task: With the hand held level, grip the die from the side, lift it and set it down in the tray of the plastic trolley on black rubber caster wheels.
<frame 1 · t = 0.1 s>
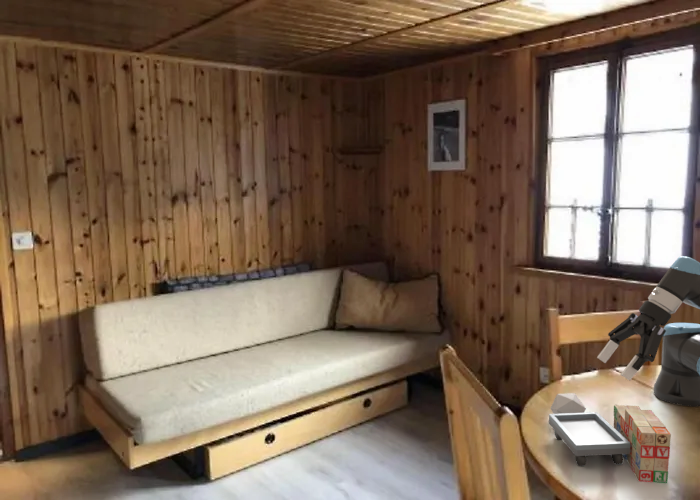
hand: (612, 368, 155), 15 cm above the table, tool tilted 35°, fingers open, 13 cm apart
trolley: (586, 450, 141), on the table
die: (567, 421, 157), on the table
stack of blocks: (638, 459, 137), on the table
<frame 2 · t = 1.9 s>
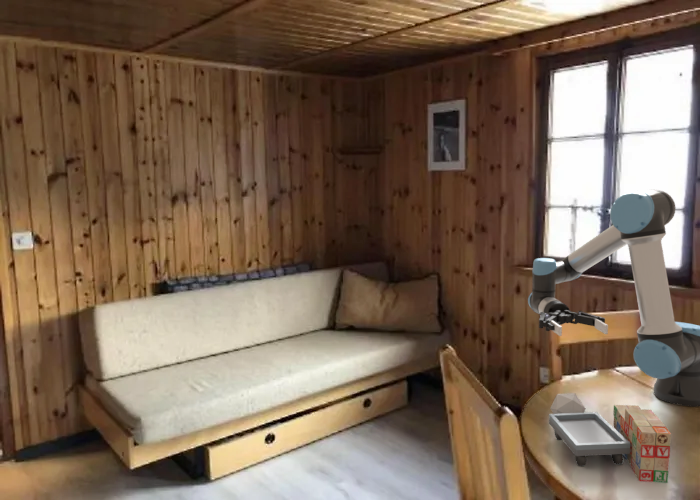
hand: (583, 330, 161), 24 cm above the table, tool horizontal, fingers open, 13 cm apart
nothing on the table moved.
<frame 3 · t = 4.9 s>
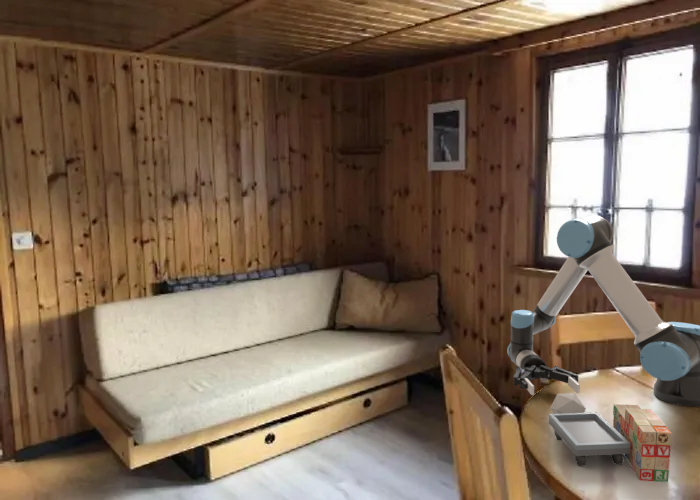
hand: (555, 389, 164), 6 cm above the table, tool horizontal, fingers open, 13 cm apart
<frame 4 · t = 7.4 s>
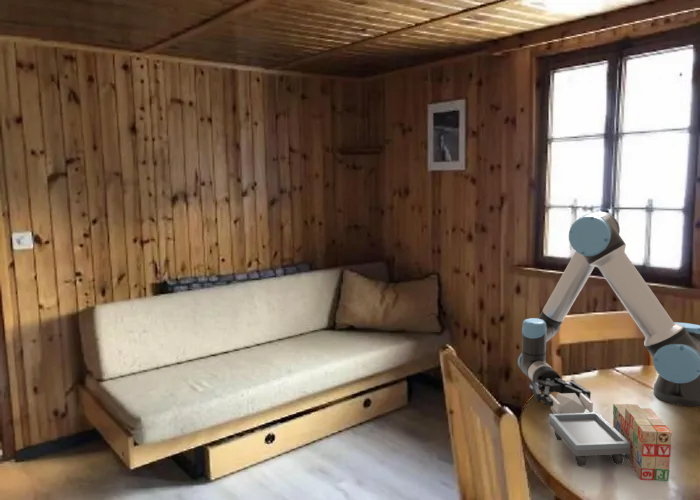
hand: (575, 408, 152), 6 cm above the table, tool horizontal, fingers closed on die, 8 cm apart
die: (567, 421, 157), on the table, touching gripper
everything else where it was.
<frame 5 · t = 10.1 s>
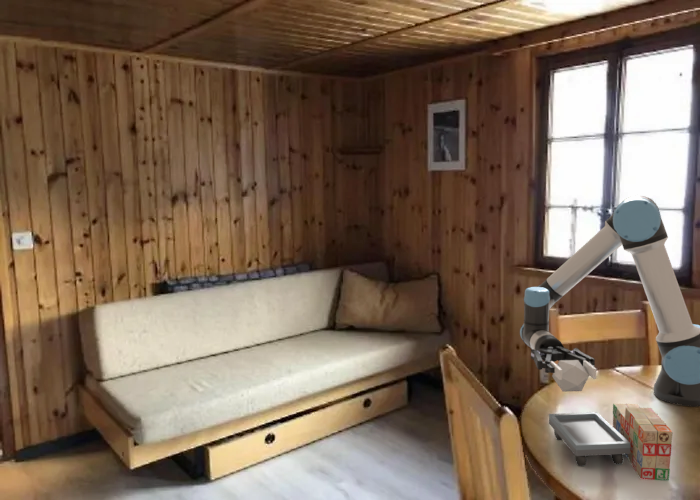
hand: (577, 374, 144), 18 cm above the table, tool horizontal, fingers closed on die, 8 cm apart
die: (569, 389, 150), point 12 cm above the table, touching gripper
when the fingers open (12 cm above the table, at t = 12.8 s): die drops 1 cm, resting on trolley.
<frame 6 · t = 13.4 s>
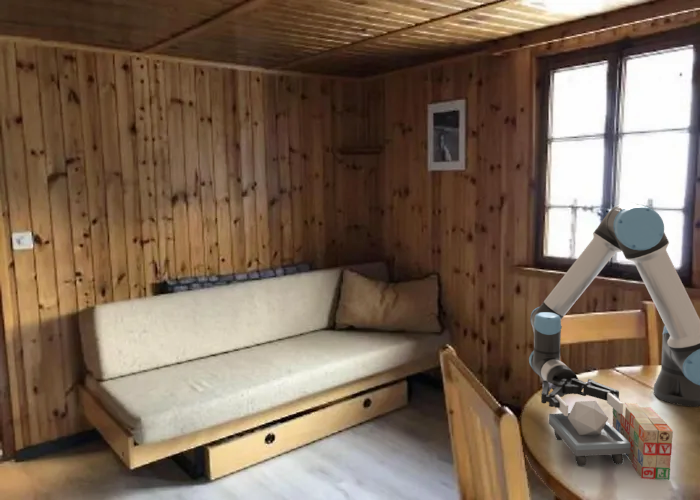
hand: (594, 409, 136), 12 cm above the table, tool horizontal, fingers open, 13 cm apart
die: (587, 433, 140), point 5 cm above the table, touching trolley
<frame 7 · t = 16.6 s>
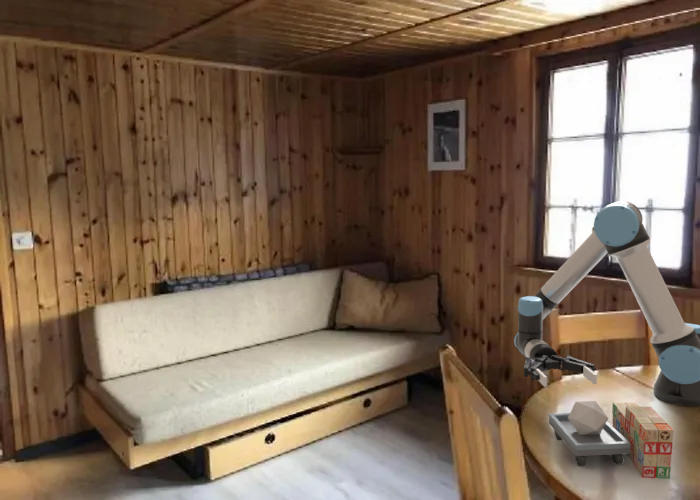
hand: (570, 380, 150), 14 cm above the table, tool horizontal, fingers open, 13 cm apart
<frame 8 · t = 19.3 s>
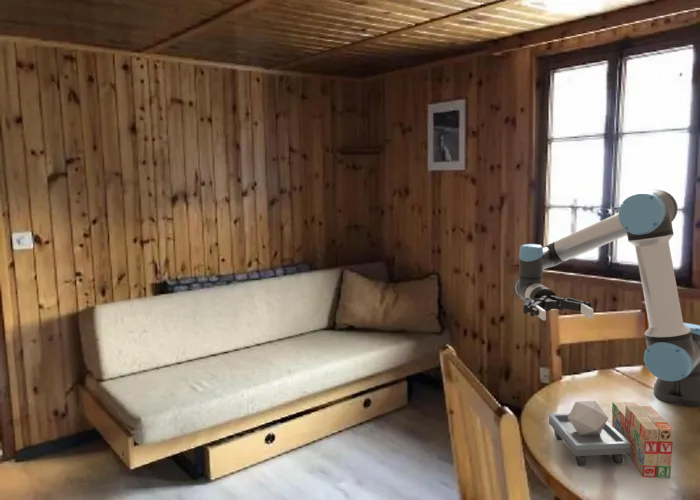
hand: (568, 314, 157), 30 cm above the table, tool horizontal, fingers open, 13 cm apart
at the end: die inside the target area on the trolley (0.1 cm from its centre), point 4.8 cm above the trolley's base; die tilted 0°; the gripper is holding nothing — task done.
